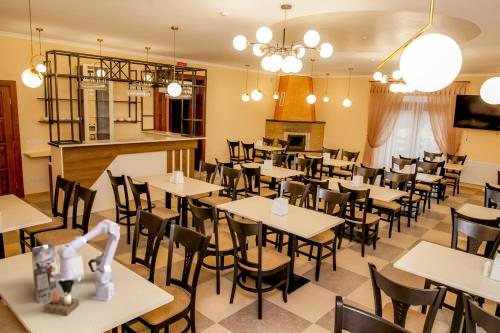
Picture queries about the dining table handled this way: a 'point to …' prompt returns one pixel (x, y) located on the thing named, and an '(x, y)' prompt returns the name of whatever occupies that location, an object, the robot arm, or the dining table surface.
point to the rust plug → (55, 298)
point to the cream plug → (67, 299)
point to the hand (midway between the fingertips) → (67, 292)
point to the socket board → (61, 307)
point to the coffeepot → (97, 260)
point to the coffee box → (42, 284)
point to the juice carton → (45, 260)
